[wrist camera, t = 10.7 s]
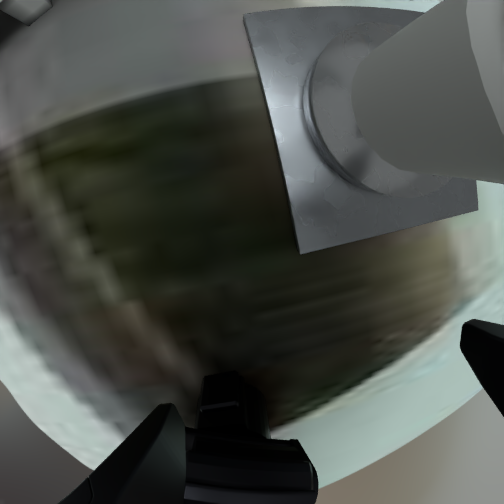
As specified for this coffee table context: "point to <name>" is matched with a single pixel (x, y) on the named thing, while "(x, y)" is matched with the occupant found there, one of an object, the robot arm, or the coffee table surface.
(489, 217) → the coffee table surface
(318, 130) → the square metal dish
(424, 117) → the can
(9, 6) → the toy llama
